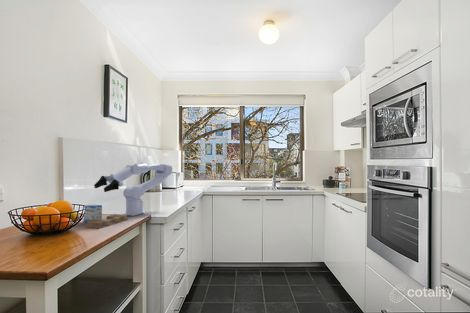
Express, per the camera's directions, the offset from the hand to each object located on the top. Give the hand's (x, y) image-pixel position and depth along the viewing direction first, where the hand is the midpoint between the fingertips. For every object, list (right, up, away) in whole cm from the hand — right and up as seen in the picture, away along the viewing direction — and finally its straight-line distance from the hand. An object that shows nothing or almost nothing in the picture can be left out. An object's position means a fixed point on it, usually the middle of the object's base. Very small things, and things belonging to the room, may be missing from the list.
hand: (99, 188), depth 143 cm
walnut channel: (+6, -17, -4) cm, 19 cm away
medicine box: (-3, -17, -1) cm, 18 cm away
